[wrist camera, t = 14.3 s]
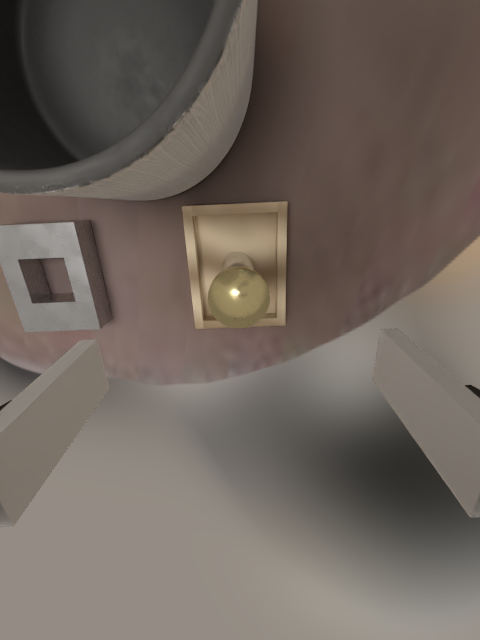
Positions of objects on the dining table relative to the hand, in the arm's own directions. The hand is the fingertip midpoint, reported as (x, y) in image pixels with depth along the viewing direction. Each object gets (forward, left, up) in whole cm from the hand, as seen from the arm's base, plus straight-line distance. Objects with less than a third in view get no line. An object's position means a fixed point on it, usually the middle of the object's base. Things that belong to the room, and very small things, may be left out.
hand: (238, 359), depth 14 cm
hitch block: (0, -21, -23) cm, 31 cm away
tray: (0, 0, -23) cm, 23 cm away
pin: (0, 0, -22) cm, 22 cm away
